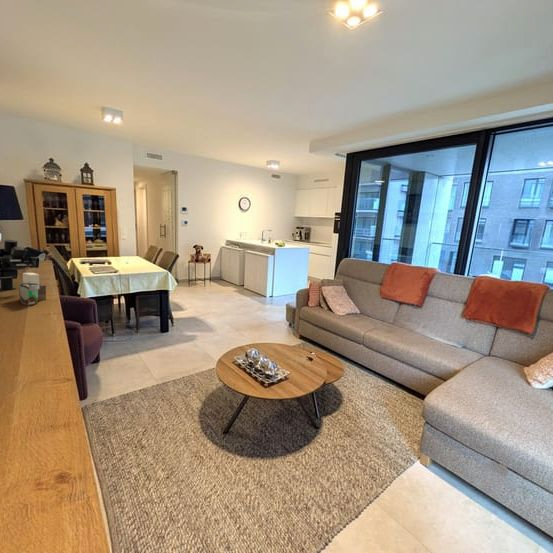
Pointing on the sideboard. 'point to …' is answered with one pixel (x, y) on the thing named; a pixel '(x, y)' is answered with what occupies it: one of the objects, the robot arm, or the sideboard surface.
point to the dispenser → (39, 292)
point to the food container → (29, 293)
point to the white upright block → (31, 278)
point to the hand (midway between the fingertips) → (26, 266)
